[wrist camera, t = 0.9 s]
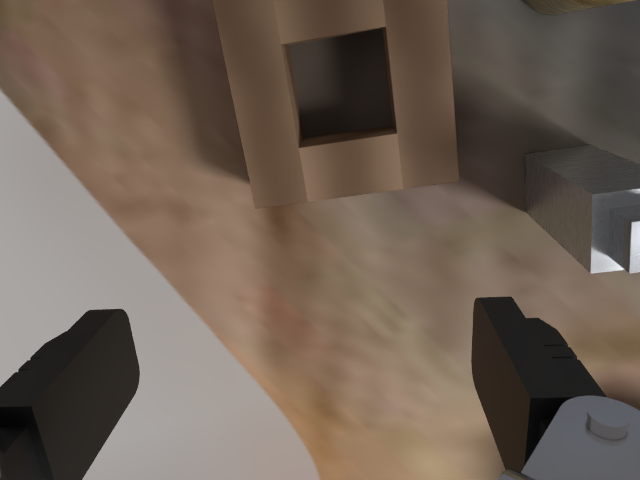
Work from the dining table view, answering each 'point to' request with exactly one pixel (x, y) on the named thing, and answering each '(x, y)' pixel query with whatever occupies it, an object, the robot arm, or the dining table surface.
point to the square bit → (587, 205)
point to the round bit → (568, 5)
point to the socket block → (340, 95)
